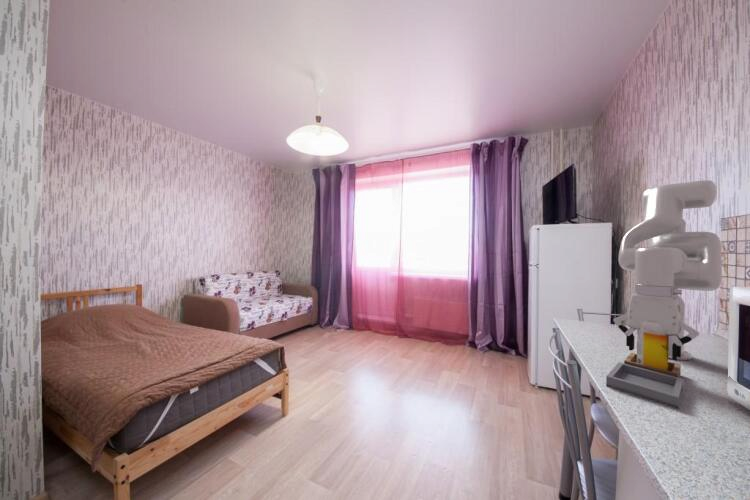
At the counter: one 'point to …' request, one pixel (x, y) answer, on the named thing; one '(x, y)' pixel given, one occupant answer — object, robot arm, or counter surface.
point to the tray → (646, 384)
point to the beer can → (652, 345)
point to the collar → (672, 367)
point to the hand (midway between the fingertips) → (652, 353)
